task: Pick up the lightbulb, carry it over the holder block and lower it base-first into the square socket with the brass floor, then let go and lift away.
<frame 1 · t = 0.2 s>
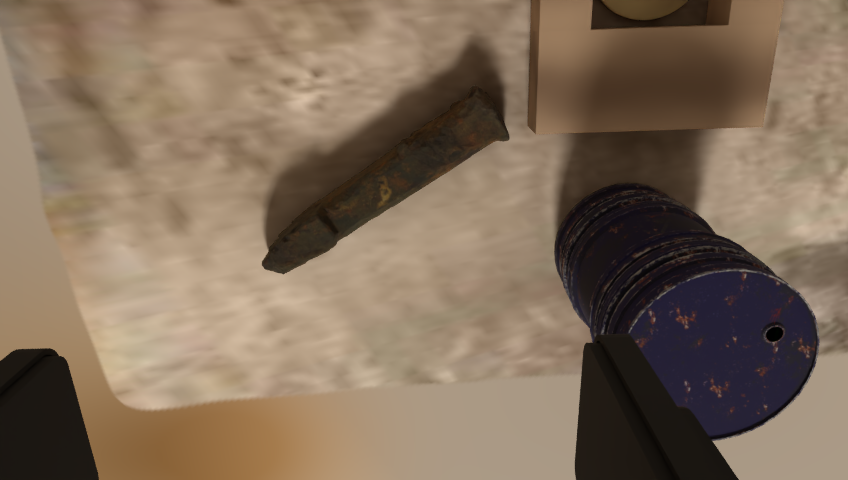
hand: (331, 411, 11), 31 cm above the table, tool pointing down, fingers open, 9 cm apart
hand tool: (382, 186, 42), on the table
navy ridged cylinder: (620, 247, 43), on the table
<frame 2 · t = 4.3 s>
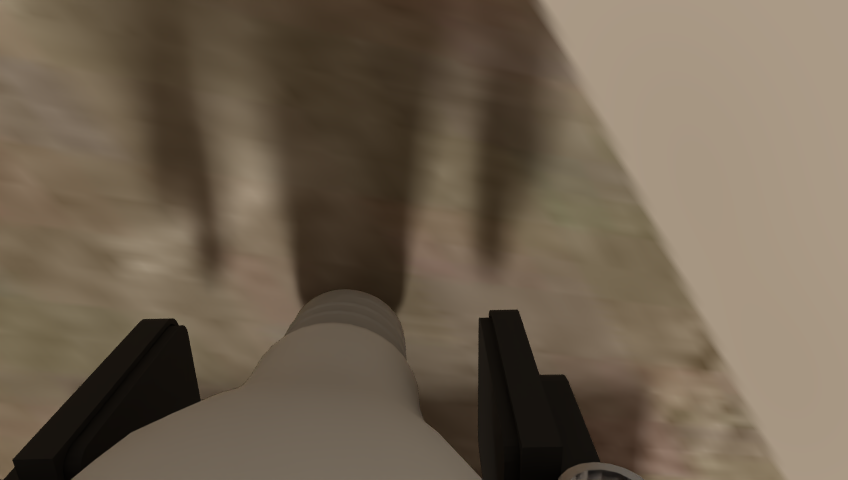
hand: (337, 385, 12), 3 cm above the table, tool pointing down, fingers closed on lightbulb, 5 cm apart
lightbulb: (352, 318, 14), on the table, touching gripper
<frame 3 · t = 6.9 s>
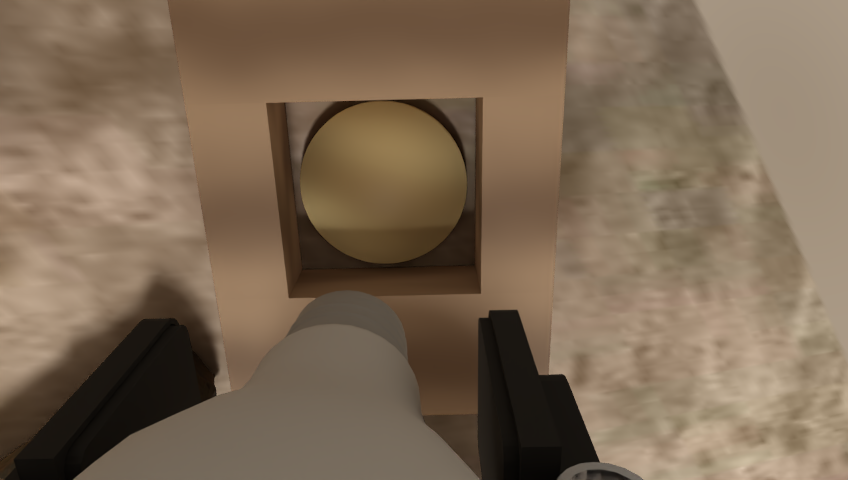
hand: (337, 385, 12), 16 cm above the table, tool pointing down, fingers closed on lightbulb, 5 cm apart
holder: (384, 183, 26), on the table
lightbulb: (354, 319, 14), point 13 cm above the table, touching gripper
hand tool: (77, 444, 32), on the table
when the fingers open (5 cm above the table, at t = 10.0 s): lightbulb drops 2 cm, resting on holder.
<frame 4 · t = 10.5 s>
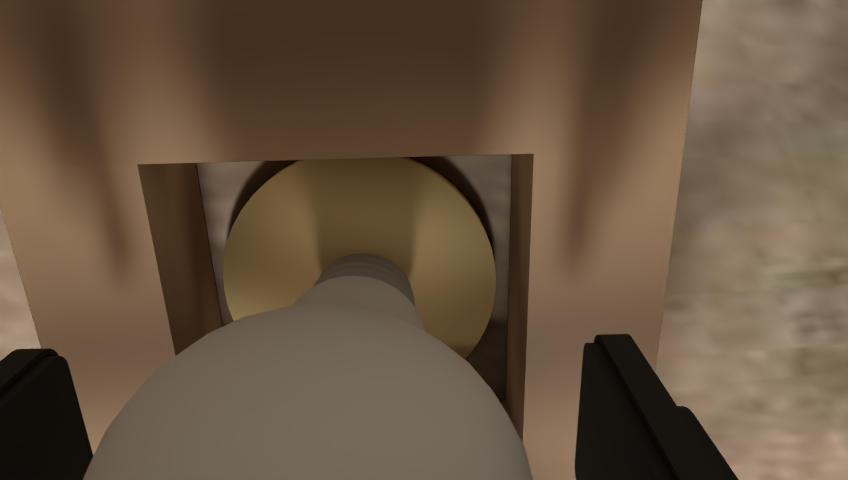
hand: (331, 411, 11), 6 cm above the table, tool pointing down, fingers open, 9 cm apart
holder: (361, 278, 16), on the table
lightbulb: (367, 282, 16), resting on holder
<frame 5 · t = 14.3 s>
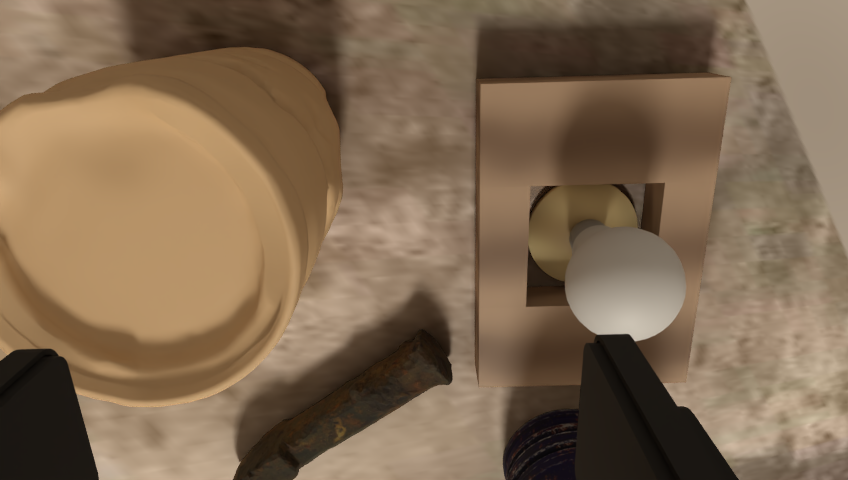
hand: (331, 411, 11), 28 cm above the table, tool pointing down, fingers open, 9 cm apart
holder: (580, 230, 40), on the table
lightbulb: (584, 232, 39), resting on holder
hand tool: (341, 405, 45), on the table
navy ridged cylinder: (564, 458, 47), on the table
container: (255, 149, 38), on the table
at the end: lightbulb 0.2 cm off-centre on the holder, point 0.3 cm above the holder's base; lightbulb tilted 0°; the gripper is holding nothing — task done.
